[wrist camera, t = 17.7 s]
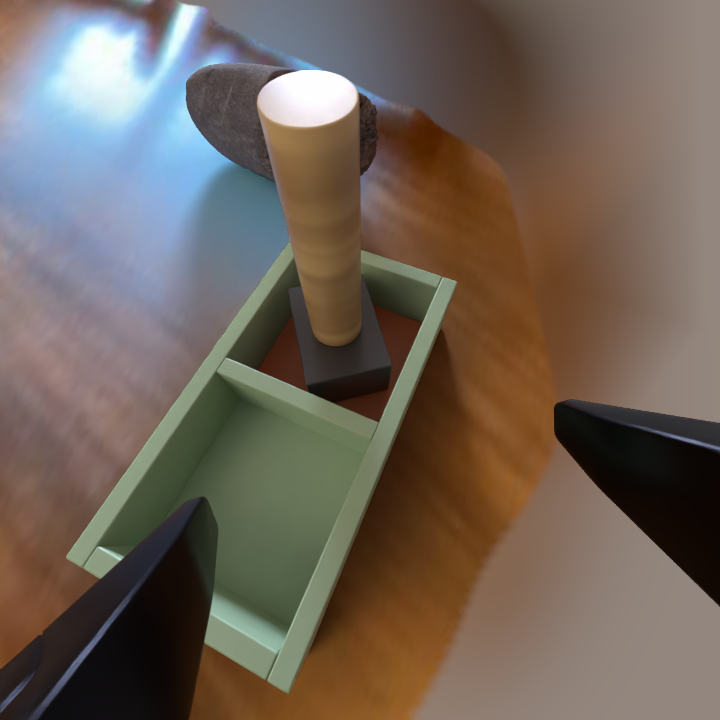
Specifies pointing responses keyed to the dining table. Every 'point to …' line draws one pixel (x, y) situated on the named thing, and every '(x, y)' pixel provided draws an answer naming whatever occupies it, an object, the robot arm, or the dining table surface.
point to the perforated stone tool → (251, 114)
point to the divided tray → (274, 465)
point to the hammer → (324, 230)
